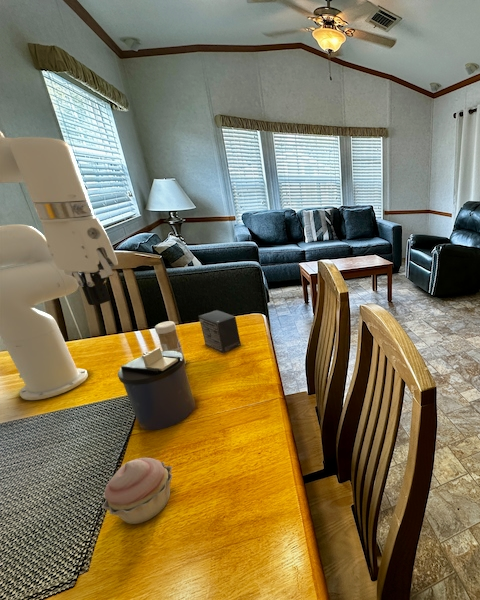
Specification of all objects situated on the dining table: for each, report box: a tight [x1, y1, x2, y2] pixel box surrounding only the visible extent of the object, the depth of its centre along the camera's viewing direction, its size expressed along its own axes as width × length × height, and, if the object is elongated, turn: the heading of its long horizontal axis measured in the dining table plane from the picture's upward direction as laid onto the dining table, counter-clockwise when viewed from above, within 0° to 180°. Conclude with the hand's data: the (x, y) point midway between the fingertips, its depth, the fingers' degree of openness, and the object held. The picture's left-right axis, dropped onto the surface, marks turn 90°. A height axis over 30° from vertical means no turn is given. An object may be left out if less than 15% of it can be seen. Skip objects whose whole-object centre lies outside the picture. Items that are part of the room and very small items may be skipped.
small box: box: [197, 309, 242, 354], centre depth 103 cm, size 11×6×10 cm, turn 58°
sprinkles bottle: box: [154, 320, 187, 367], centre depth 92 cm, size 5×5×14 cm
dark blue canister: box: [117, 350, 196, 431], centre depth 73 cm, size 12×12×14 cm
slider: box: [141, 347, 178, 371], centre depth 70 cm, size 4×4×3 cm
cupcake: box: [101, 456, 173, 525], centre depth 53 cm, size 9×9×10 cm
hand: (100, 302), depth 67 cm, fingers closed
